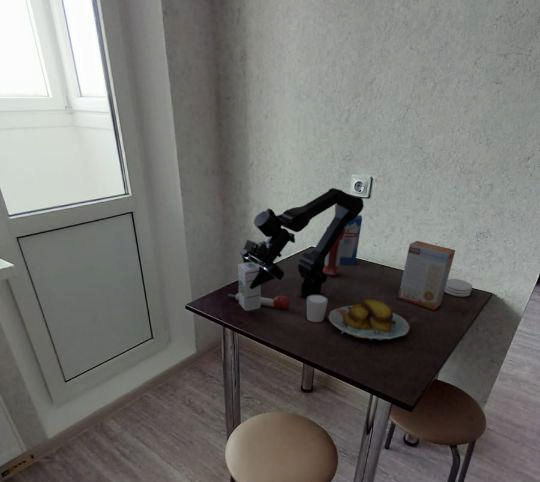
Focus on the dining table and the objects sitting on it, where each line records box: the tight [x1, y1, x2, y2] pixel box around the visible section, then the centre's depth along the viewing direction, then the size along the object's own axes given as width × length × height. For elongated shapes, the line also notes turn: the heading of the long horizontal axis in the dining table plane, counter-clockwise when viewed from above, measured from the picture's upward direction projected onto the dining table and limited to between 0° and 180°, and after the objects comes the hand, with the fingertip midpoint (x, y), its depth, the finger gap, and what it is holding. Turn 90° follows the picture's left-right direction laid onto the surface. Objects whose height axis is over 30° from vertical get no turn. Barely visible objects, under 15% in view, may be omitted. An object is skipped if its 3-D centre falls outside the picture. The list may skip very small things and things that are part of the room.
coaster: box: [444, 278, 473, 298], centre depth 155 cm, size 10×10×4 cm
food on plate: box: [327, 298, 411, 341], centre depth 128 cm, size 25×25×7 cm
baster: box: [228, 292, 291, 310], centre depth 140 cm, size 22×4×4 cm, turn 73°
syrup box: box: [237, 262, 262, 312], centre depth 130 cm, size 6×6×14 cm
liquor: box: [323, 204, 345, 277], centre depth 160 cm, size 7×7×28 cm
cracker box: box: [397, 240, 456, 311], centre depth 142 cm, size 14×6×21 cm, turn 47°
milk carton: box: [339, 214, 363, 266], centre depth 175 cm, size 10×6×20 cm, turn 81°
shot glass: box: [306, 294, 329, 323], centre depth 132 cm, size 7×7×7 cm
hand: (245, 284), depth 129 cm, fingers closed on syrup box, 6 cm apart
